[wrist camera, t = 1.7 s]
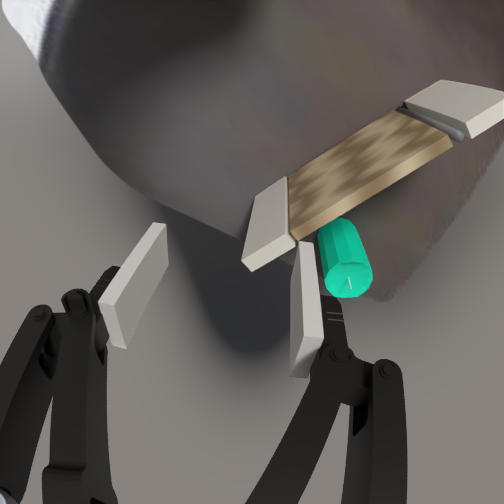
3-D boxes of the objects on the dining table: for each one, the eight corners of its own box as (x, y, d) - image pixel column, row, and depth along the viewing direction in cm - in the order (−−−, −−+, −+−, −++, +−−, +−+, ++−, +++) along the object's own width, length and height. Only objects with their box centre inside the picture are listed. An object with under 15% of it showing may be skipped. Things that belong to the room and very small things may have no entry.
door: (393, 109, 33) (447, 134, 20) (403, 128, 34) (459, 161, 21) (288, 176, 39) (290, 231, 27) (300, 192, 40) (307, 253, 28)
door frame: (255, 196, 42) (241, 260, 29) (440, 79, 29) (512, 93, 16) (262, 204, 42) (251, 271, 29) (446, 90, 30) (517, 109, 17)
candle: (318, 217, 42) (328, 267, 32) (359, 217, 42) (380, 267, 32) (316, 252, 46) (323, 308, 36) (354, 253, 45) (371, 307, 35)
